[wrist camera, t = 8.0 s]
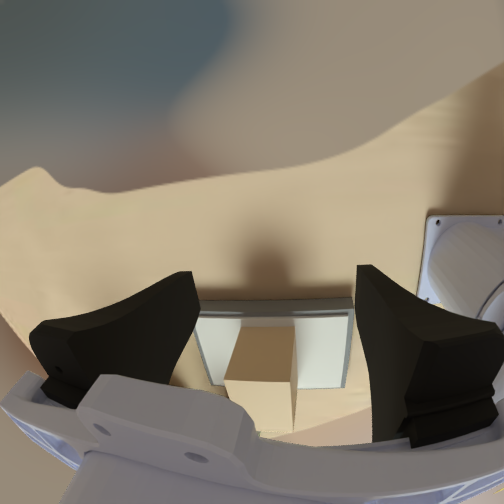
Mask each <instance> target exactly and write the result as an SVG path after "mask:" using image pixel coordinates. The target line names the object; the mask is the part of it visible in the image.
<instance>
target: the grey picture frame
mask: <svg viewBox="0 0 504 504" xmlns="http://www.w3.org/2000/svg"><path fill="white" fill-rule="evenodd" d="M199 303H200V307H201V310H200V314H199V317H198V320H197V323H196V326H195V328H194V330H193V332H194V335H195V338H196V341H197V345H198V348H199V351H200V354H201V357H202V360H203V363H204V366H205V369H206V372H207V375H208V378H209V381H210V383H211V385H217V386H225V383H224V380H223V379H224V376H225V373H226V370H227V367H228V364H229V361H230V358H231V355H232V352H233V349H234V346H235V343H236V340H237V337H238V334H239V331H240V328H241V327H288V326H295V333H296V351H297V371H298V387H297V389H333V388H345V383H346V376H347V369H348V362H349V355H350V347H351V338H352V329H353V318H354V305H353V301H352V297H347V298H327V299H300V300H249V301H213V300H199Z"/></svg>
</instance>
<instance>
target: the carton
mask: <svg viewBox="0 0 504 504" xmlns="http://www.w3.org/2000/svg"><path fill="white" fill-rule="evenodd" d="M223 380H224V383H225V386H226V390H227V393H228V396H229V399H230V400H231V401H233V402H235V403H237V404H239V405H240V406H242V407H243V408H244V409H245V410H246V412H247V413H248V414H249V416H250V417H251V418H252V420H253V421H254V424H255V428H256V431H264V432H293V430H294V420H295V410H296V399H297V387H298V371H297V351H296V333H295V326H288V327H241V328H240V331H239V334H238V337H237V340H236V343H235V346H234V349H233V352H232V355H231V358H230V361H229V364H228V367H227V370H226V373H225V376H224V379H223Z"/></svg>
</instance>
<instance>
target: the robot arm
mask: <svg viewBox="0 0 504 504" xmlns="http://www.w3.org/2000/svg"><path fill="white" fill-rule="evenodd" d="M499 219H500V221H499ZM437 220H439V223H438V224H436V221H437ZM498 221H499V223H498ZM426 298H428V299H427V300H425V299H426ZM436 303H442V305H443V306H444V308H445V309H442V308H440V307H437V306H435V305H433V304H436ZM200 310H201V307H200V303H199V300H198V296H197V292H196V288H195V283H194V279H193V275H192V271H180V272H177V273H174V274H172V275H170V276H168V277H166V278H164V279H162V280H161V281H159V282H157V283H155V284H153V285H151V286H150V287H148V288H146V289H144V290H142V291H140V292H138V293H136V294H134V295H132V296H131V297H129V298H126V299H124V300H122V301H120V302H117V303H115V304H112V305H110V306H107V307H104V308H101V309H98V310H95V311H92V312H89V313H85V314H81V315H77V316H72V317H66V318H59V319H52V320H44V321H42V322H41V323H40V324H39V325H38V326H37V327H36V328H35V329H34V330H32V331H31V332H30V335H29V341H30V345H31V348H32V350H33V352H34V354H35V355H36V357H37V359H38V360H39V362H40V363H41V365H42V366H43V368H44V369H45V371H46V372H47V374H48V375H49V377H48V378H47V380H46V381H45V380H44V379H43V378H42V377H41V376H39V375H37V374H35V373H33V372H30V371H26V373H25V374H24V375H23V376H22V377H21V378H20V379H19V381H18V382H17V383H16V384H15V385H14V386H13V388H12V389H11V390H10V391H9V393H7V395H6V396H5V397H4V398H3V399H2V401H1V402H0V406H1V408H2V409H3V410H4V411H5V413H6V414H7V415H8V416H9V417H10V418H11V419H12V420H13V421H14V423H15V424H16V425H17V426H18V427H19V428H20V429H21V430H22V431H23V432H24V433H25V434H26V435H27V436H28V437H29V438H30V439H31V440H32V441H33V442H35V443H36V444H38V445H39V446H40V447H42V448H43V449H45V450H46V451H47V452H49V453H50V454H52V455H53V456H55V457H56V458H58V459H59V460H60V461H62V462H63V463H65V464H67V465H68V466H70V467H72V468H73V469H74V470H76V471H77V472H76V473H75V475H74V477H73V478H72V480H71V482H70V484H69V486H68V487H67V489H66V491H65V493H64V495H63V497H62V499H61V500H60V502H59V504H458V503H461V502H463V501H465V500H467V499H470V498H472V497H474V496H476V495H479V494H481V493H483V492H485V491H487V490H489V489H491V488H494V487H495V486H497V485H499V484H501V483H503V482H504V215H432V216H429V217H428V218H427V221H426V231H425V241H424V251H423V259H422V266H421V273H420V279H419V285H418V291H417V296H415V295H414V294H412V293H410V292H409V291H407V290H406V289H404V288H403V287H401V286H400V285H398V284H397V283H395V282H394V281H393V280H391V279H390V278H389V277H387V276H386V275H385V274H384V273H382V272H381V271H380V270H378V269H377V268H376V267H374V266H373V265H371V264H370V265H357V275H356V293H355V314H356V321H357V327H358V331H359V335H360V339H361V342H362V346H363V350H364V354H365V358H366V362H367V366H368V372H369V380H370V390H371V404H372V434H373V435H372V443H366V444H356V445H343V446H323V447H322V446H321V447H313V446H306V445H299V444H293V443H287V442H282V441H276V440H271V439H267V438H262V437H258V435H257V432H256V428H255V424H254V421H253V420H252V418H251V417H250V416H249V414H248V413H247V412H246V410H245V409H244V408H243V407H242V406H240V405H239V404H237V403H235V402H233V401H231V400H230V399H228V398H226V397H224V396H222V395H218V394H214V393H211V392H207V391H203V390H198V389H190V388H183V387H177V386H171V385H168V384H169V381H170V378H171V375H172V373H173V370H174V368H175V365H176V363H177V361H178V359H179V357H180V355H181V353H182V351H183V349H184V348H185V346H186V344H187V342H188V340H189V338H190V336H191V334H192V332H193V330H194V328H195V326H196V323H197V320H198V317H199V314H200Z"/></svg>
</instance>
